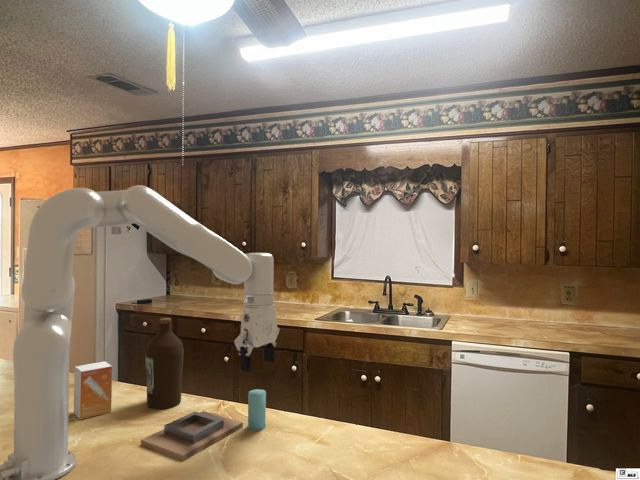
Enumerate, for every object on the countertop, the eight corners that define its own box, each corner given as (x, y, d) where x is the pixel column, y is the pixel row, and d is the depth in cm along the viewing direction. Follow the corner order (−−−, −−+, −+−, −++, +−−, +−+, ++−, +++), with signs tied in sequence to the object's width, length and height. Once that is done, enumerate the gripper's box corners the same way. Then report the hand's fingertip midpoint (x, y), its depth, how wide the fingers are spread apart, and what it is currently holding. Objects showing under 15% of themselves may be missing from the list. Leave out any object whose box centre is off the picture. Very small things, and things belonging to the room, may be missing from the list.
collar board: (182, 460, 94) (183, 446, 94) (140, 444, 101) (141, 431, 101) (242, 426, 111) (242, 414, 111) (203, 415, 118) (203, 403, 118)
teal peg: (258, 432, 109) (258, 396, 108) (244, 428, 111) (244, 393, 111) (268, 425, 112) (269, 391, 112) (255, 421, 115) (255, 388, 115)
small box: (79, 420, 114) (80, 371, 114) (73, 413, 118) (73, 366, 118) (112, 412, 119) (112, 365, 119) (104, 405, 124) (105, 360, 124)
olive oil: (178, 394, 134) (179, 314, 134) (187, 406, 125) (188, 320, 125) (141, 400, 128) (143, 317, 128) (148, 413, 119) (149, 323, 119)
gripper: (248, 306, 102) (247, 377, 102) (289, 297, 117) (288, 360, 117) (224, 303, 106) (224, 372, 106) (267, 295, 121) (266, 356, 121)
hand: (258, 365), depth 112 cm, fingers open, 9 cm apart
